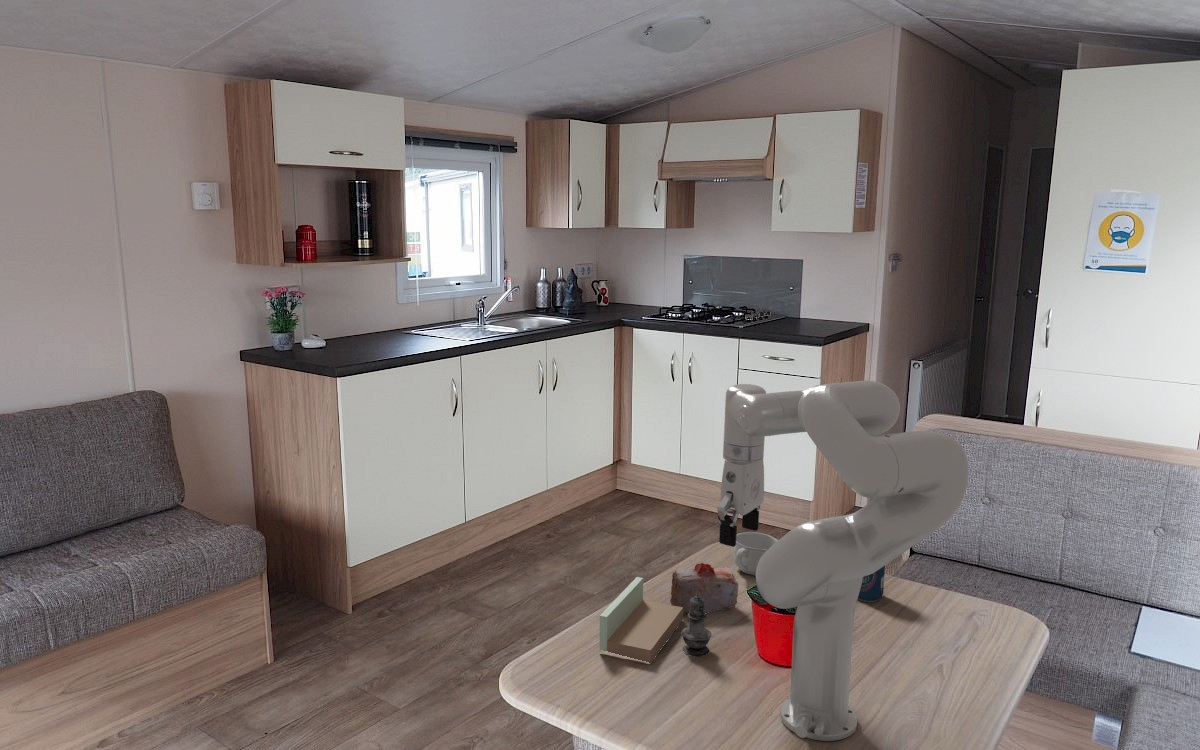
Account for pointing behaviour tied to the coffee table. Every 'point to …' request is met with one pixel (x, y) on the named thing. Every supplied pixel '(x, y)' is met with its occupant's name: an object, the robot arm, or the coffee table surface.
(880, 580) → the soda can
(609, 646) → the cleat board
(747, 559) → the teacup
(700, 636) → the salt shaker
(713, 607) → the food item
